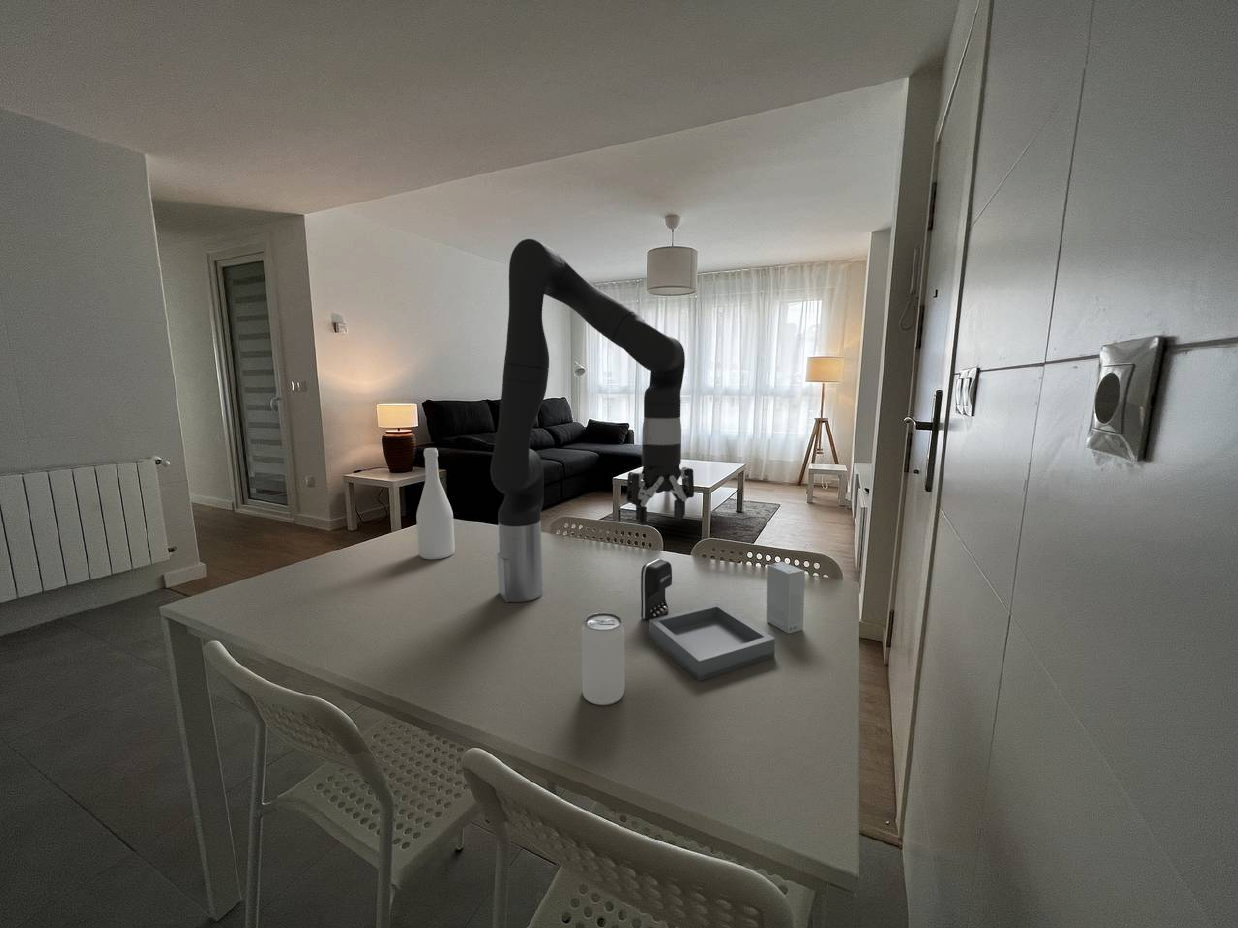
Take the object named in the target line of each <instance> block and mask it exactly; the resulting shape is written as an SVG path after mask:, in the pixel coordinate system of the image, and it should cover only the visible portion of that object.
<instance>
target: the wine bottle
mask: <svg viewBox="0 0 1238 928" xmlns="http://www.w3.org/2000/svg"><path fill="white" fill-rule="evenodd" d="M423 450H424V451H423V458H424V466H425V468H424V469H425V471H424V472H425V480H424V485H423V489H422V493H421V496H420V500H419V502H418V503H419V504H418V505H417V509H416V513H415V514H416V515H415V518H416V519H415V520H416V530H417V531H416V532H417V546H418V547H417V549H418V555H419V557H420V558H421V559H425V560H441V559H445V558H448V557H450V556H451V555H453V554H454V552H455V549H456V548H455V547H456V545H455V531H454V529H455V528H454V513H453V509H452V505H451V504H450V502H449V499H448V497H447V495H446V492H445V490H444V487H443V486H442V485H443V484H442V482H441V479H440V475H439V471H440V470H439V461H438V457H439V451H438V449H437V448H436V447H428V448H424V449H423Z"/></svg>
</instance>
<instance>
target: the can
mask: <svg viewBox="0 0 1238 928" xmlns="http://www.w3.org/2000/svg"><path fill="white" fill-rule="evenodd" d="M583 622H584V624H583V626H582V628H581V683H582V684H581V686H582V689H581V690H582V695H583V697H584V699H585V700H586V701H587V702H589V703H590V704H592V705H595V706H602V707H603V706H610V705H613V704H615V703H617V702H619V701H620V700H621V699H622V698H623V696H624V694H625V629H624V626H623V624H622V619H621V617H620V616H618V615H617V614H615V613H611V612H595V613H592V614H589V615H588V616H586V617H585V618H584V620H583Z"/></svg>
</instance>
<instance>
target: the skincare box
mask: <svg viewBox="0 0 1238 928" xmlns="http://www.w3.org/2000/svg"><path fill="white" fill-rule="evenodd" d="M766 570H767V571H766V574H767V575H766V578H767V579H766V582H767V583H766V584H767V585H766V622H767V623H769V624H770V625H772V626H774V627H776V628H777V629H779V630H781V631H783V632H784V633H786V634H792V633H797V632H800V631H802V630H803V629H804V605H805V604H804V601H805V599H804V598H805V570H803V569H801V568H799V567H796V566H794V565H791V564H788V563H787V562H784V561H779V562H775V563H770V564H767V566H766Z"/></svg>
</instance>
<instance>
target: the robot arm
mask: <svg viewBox="0 0 1238 928" xmlns="http://www.w3.org/2000/svg"><path fill="white" fill-rule="evenodd" d="M544 296H547V297H550V298H552V299H554V300H557V301H558V302H560V303H562V304H564V305H566V306H568V307H569V308H570V309H572V310H574V312H575V313H577V314H578V315H579V316H580V317H582V318H583V319H584V321H585V322H586V323H588V325H589V326H591V327H592V328H593V330H596V331H597V332H598V333H599V334H601V335H602V336H604V337H605V338H606V339H608V340H609V341H610V342H612V343H613V344H615V345H616V346H618V347H619V348H621V349H623V350H624V351H625V352H626V353H627V354H628V355H629V356H630V357H631V358H632V359H633V360H635V362H637V363H638V364H639V365H641V366H642V367H643V368H645V369H646V370H648V371H649V372H650V373H649V374H650V375H649V386H648V388H647V389H646V390H645V392H644V396H643V398H644V399H643V422H642V423H643V424H642V437H641V438H642V443H641V444H642V447H641V448H642V451H641V452H642V453H641V455H642V457H641V460H642V461H641V462H642V467H643V468H642V471H641V472H632V471H629V472H628V474H627V484H626V485H627V486H626V502H627V503H629V504H633V505H635V520H636V522H638V524H639V525H641V526H647V524H648V521H647V520H648V518H647V517H648V508H647V504H648V502H649V501H650V499H651V498H653V497H654V495H655V494H661V493H663V492H666V493H671V494H672V495H673V497H674V498H675V499H674V501H673V505H674V506H673V507H674V508H673V510H674V511H673V516H674V519H676V520H683V519H684V517H685V514H686V501H687V500H688V499H689V498H694V496H695V487H694V484H695V483H694V469H693V468H690V467H686V466H682V468H680V465H681V461H682V424H681V391H682V385H683V379H684V373H685V364H686V363H685V362H686V359H685V358H686V356H685V350H684V347H683V345H682V344H681V342H680V341H679V340H678V339H676V338H674V337H672V336H668V335H666V334H664V333H663V332H661V331H659V330H658V329H656V328H654V326H652V325H650V324H649V323H646V322H645V320H644V319H643V317H642V316H640V315H639V314H638V313H636V312H635V311H633V309H631V308H630V307H628V306H626V305H625V304H623V303H621V302H620V300H619V301H618V299H616V298H614V297H613V296H611V295H609V294H608V293H606V292H604V291H602V290H601V289H599V288H598V287H596V286H595V285H593V284H592V283H590V282H589V281H587V279H585V278H583V276H582V275H580V274H579V273H578V271H576V269H574V268H573V267H572V266H571V265H570V264H569V262H567V261H566V260H565V259H564V258H563V257H562V255H560V253H559V252H558V251H557V250H555V249H553V248H552V247H550V246H548V245H547V244H545V243H543V242H541V241H539V240H536V239H533V238H525V239H523V240H521V241H519V242H518V243H517V244H516V246H514V248H513V250H512V252H511V254H510V259H509V266H508V317H507V319H508V320H507V330H506V344H505V355H504V359H503V362H504V363H503V369H502V370H503V371H502V385H501V386H502V387H501V394H500V395H501V396H500V397H501V398H500V404H499V405H500V406H499V415H498V416H499V417H498V427H497V432H496V433H497V434H496V437H495V442H494V449H493V452H492V457H491V463H490V470H489V472H490V477H491V479H490V480H491V481H492V483H493V485H494V487H495V488H496V490H497V491H499V492H500V493H502V494H504V499H503V501H502V503H501V505H500V507H499V509H498V513H497V519H498V539H499V541H498V543H499V551H498V552H497V574H498V593H499V595H500V597H501V598H502V599H503V601H504V602H505V603H509V602H510V603H511V602H513V603H519V602H520V603H523V602H530V601H533V600H535V599H538V598H539V597H541V596H542V594H543V592H544V591H543V555H542V551H543V550H542V526H541V525H542V522H541V521H542V520H541V518H542V517H541V513H542V509H543V506H544V486H545V485H544V484H545V482H544V465H543V462H542V461H543V460H541V457H540V455H539V454H538V453H537V452H536V451H535V450H534V449H531V448H530V447H531V446H530V445H531V438H532V432H533V428H534V424H535V421H536V419H537V416H538V414H539V412H540V409H541V406H542V405H543V402H544V399H545V396H546V392H547V389H548V379H549V372H550V371H549V369H550V355H549V348H548V344H547V343H548V342H547V338H546V334H545V329H544V325H543V324H544V323H543V304H544V298H545V297H544ZM680 478H681V485H680V484H679V482H678V481H679V479H680ZM642 481H643V484H642V485H641V487H640V484H641V483H642Z"/></svg>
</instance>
